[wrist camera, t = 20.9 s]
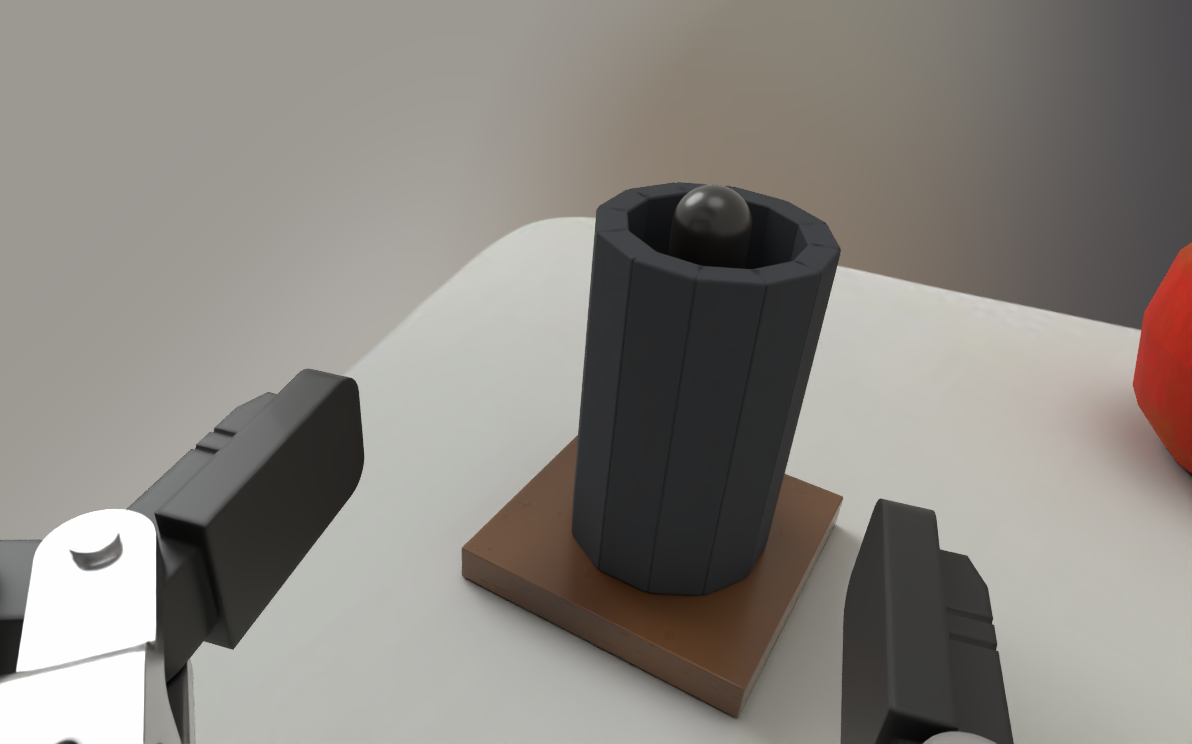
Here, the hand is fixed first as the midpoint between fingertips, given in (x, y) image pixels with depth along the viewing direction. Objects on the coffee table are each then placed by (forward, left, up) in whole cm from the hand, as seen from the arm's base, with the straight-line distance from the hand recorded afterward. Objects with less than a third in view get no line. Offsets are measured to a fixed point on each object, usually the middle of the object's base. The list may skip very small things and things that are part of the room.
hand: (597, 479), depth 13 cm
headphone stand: (-3, +10, -11) cm, 15 cm away
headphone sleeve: (-2, +10, -10) cm, 15 cm away
